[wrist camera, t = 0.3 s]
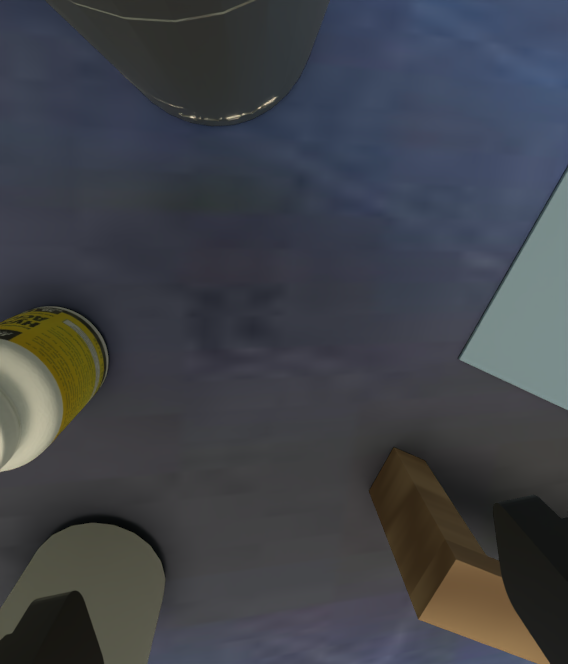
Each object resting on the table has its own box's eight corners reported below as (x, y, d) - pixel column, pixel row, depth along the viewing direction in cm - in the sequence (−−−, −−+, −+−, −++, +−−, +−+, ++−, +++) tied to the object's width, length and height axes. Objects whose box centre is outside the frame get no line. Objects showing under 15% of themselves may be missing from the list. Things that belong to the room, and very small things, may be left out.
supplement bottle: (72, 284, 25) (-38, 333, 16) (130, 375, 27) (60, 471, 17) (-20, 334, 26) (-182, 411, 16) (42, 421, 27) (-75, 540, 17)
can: (183, 531, 29) (134, 751, 17) (149, 635, 31) (83, 900, 19) (51, 498, 28) (-94, 706, 16) (23, 607, 30) (-127, 866, 18)
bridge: (576, 575, 31) (704, 725, 22) (368, 491, 29) (418, 619, 20) (603, 536, 31) (746, 674, 22) (393, 447, 28) (456, 559, 19)
